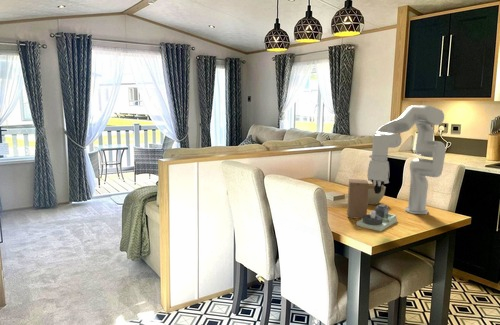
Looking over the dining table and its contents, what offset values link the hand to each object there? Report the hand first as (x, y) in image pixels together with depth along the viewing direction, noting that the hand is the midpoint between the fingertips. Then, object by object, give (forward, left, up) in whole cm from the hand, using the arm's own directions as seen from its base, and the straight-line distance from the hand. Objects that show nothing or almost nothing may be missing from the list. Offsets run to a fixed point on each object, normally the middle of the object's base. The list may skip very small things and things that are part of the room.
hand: (377, 192), depth 199 cm
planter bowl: (-41, -20, -17) cm, 49 cm away
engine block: (-8, 0, -15) cm, 17 cm away
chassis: (-3, 0, -17) cm, 17 cm away
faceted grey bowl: (+4, 0, -15) cm, 15 cm away
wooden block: (-8, -14, -17) cm, 24 cm away
